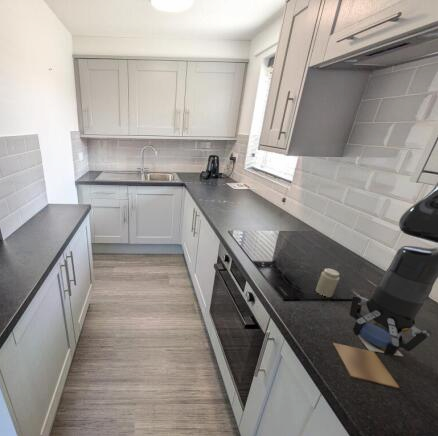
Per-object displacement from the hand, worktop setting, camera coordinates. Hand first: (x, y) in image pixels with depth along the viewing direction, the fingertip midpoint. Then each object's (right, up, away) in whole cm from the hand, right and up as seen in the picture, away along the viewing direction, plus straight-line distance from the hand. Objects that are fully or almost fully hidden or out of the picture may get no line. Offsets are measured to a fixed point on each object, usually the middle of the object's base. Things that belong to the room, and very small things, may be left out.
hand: (371, 343), depth 59 cm
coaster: (0, -7, +2) cm, 7 cm away
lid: (0, +3, -1) cm, 3 cm away
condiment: (+10, -5, +9) cm, 14 cm away
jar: (+10, +4, +29) cm, 31 cm away
